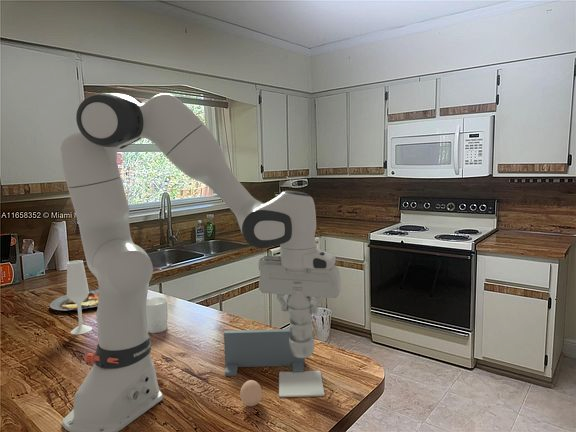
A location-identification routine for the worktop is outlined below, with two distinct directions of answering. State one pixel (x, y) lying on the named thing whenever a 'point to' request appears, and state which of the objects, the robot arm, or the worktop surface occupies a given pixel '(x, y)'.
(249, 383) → the egg
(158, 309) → the white cup
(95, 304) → the food plate
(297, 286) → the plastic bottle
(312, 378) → the grey mat
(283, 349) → the slate screen
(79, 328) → the champagne flute
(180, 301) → the worktop surface
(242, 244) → the worktop surface
